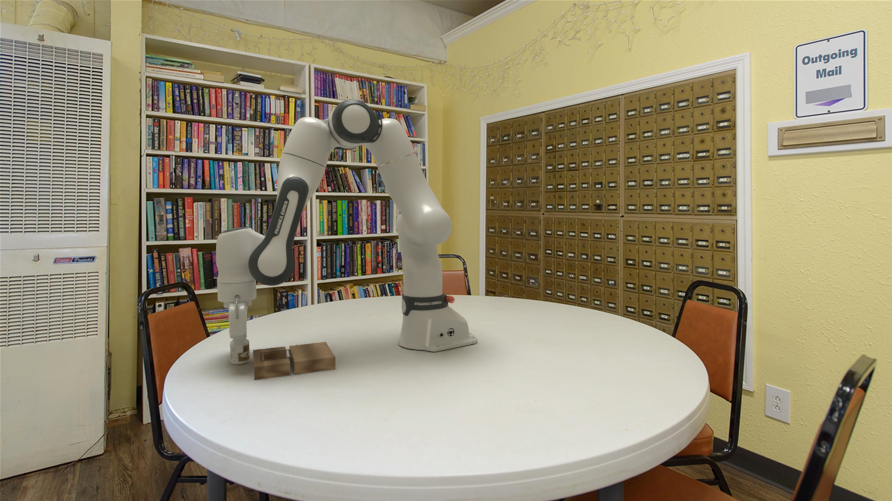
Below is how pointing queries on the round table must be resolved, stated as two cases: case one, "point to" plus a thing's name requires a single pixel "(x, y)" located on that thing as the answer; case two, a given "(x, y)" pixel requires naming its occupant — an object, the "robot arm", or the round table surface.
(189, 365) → the round table surface
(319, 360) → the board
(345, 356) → the round table surface
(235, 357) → the pill bottle
